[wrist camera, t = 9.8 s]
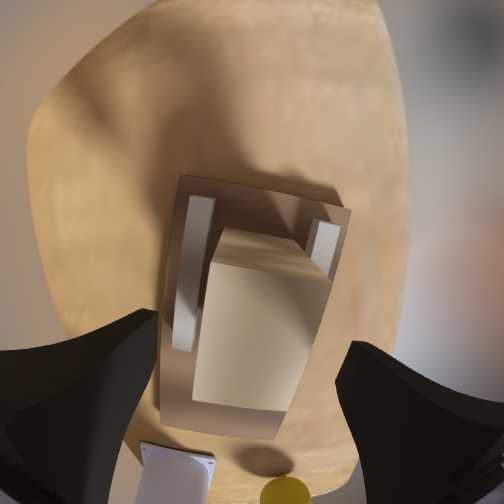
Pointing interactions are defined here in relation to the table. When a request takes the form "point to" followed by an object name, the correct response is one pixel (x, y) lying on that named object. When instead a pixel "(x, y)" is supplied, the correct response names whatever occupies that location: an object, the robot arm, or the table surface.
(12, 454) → the robot arm
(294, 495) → the lemon
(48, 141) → the table surface
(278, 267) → the block
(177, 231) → the board
